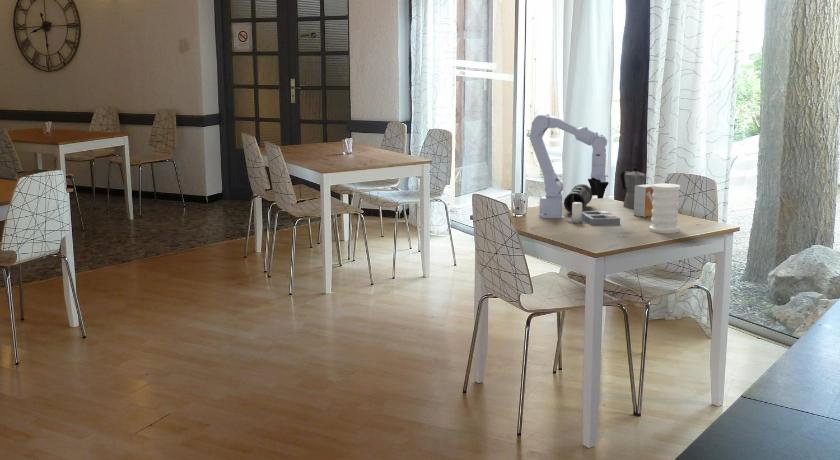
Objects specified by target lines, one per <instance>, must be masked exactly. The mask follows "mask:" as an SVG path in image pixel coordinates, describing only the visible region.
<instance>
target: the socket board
mask: <svg viewBox="0 0 840 460" xmlns="http://www.w3.org/2000/svg"><path fill="white" fill-rule="evenodd" d="M582 220H583V221H584V222H586V223H587V224H589V225H590V226H604V225H605V226H610V225H611V226H612V225H616V226H617V225H621V218H620V217H618V216H617V215H615V214H613V213H612V212H610V211H608V210H585V211H584V210H582Z"/></svg>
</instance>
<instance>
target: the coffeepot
mask: <svg viewBox="0 0 840 460" xmlns="http://www.w3.org/2000/svg"><path fill="white" fill-rule="evenodd" d="M619 177H620V180H621V186H622V189H624V190H626V193H625V195H624V196H625V197H624V202H623V208H626V209H634V194H635V186H638V185H645V182H646V178H647V177H648V176H647V174H646V173H643V172H640V171H638V167H636V166H635V167H633V171H626V170H622V172H621V173H620V176H619Z"/></svg>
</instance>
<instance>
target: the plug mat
mask: <svg viewBox="0 0 840 460" xmlns="http://www.w3.org/2000/svg"><path fill="white" fill-rule="evenodd" d="M566 222H567V223H569V224H570V225H582V224H583V225H586V224H588V223H587V222H585V221H584V220H582V223H572V220H566Z"/></svg>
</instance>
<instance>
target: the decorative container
mask: <svg viewBox="0 0 840 460" xmlns="http://www.w3.org/2000/svg"><path fill="white" fill-rule="evenodd" d="M651 185H652V189H653V194H652V196H653V201H652V205H653V209H652V216H651V218H650V220H651V225H649V226H648V230H650V232H652V233H656V232H657V233H656V234H675V233H676V232H677V233H678V232H680V227H679V226H677V223H678V221H679V219H678V214H679V210H678V209H679V208H678V207H679V197H680V194H679V190H681V184H677V183H664V182H663V183H653V184H651Z"/></svg>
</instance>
